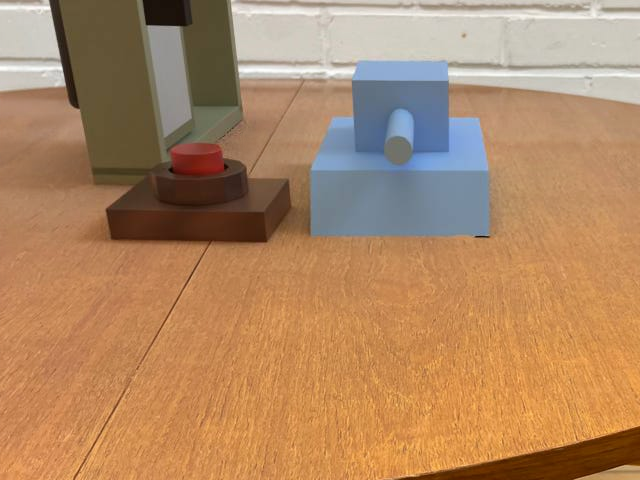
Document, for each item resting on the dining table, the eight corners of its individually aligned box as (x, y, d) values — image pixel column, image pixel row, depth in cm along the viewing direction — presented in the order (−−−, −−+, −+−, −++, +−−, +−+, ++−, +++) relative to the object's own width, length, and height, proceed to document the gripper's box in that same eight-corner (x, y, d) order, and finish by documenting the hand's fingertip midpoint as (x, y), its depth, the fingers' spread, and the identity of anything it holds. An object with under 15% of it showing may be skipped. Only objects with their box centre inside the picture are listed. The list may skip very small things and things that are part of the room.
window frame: (94, 184, 80) (45, -64, 71) (188, 117, 104) (161, -75, 95) (165, 186, 80) (127, -63, 71) (243, 118, 104) (222, -74, 95)
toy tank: (493, 105, 64) (299, 104, 64) (491, 242, 69) (310, 242, 69) (479, 53, 83) (328, 52, 82) (478, 164, 88) (335, 163, 87)
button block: (111, 240, 68) (99, 182, 66) (151, 204, 75) (142, 151, 73) (267, 243, 68) (261, 185, 65) (291, 207, 75) (286, 154, 73)
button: (166, 179, 68) (163, 153, 67) (181, 166, 71) (177, 142, 70) (217, 180, 68) (214, 154, 67) (230, 167, 71) (227, 142, 70)
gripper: (136, -494, 47) (199, 39, 59) (206, -420, 58) (247, 15, 70) (-19, -498, 47) (76, 35, 59) (81, -423, 58) (144, 12, 70)
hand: (169, 24), depth 64 cm, fingers closed
